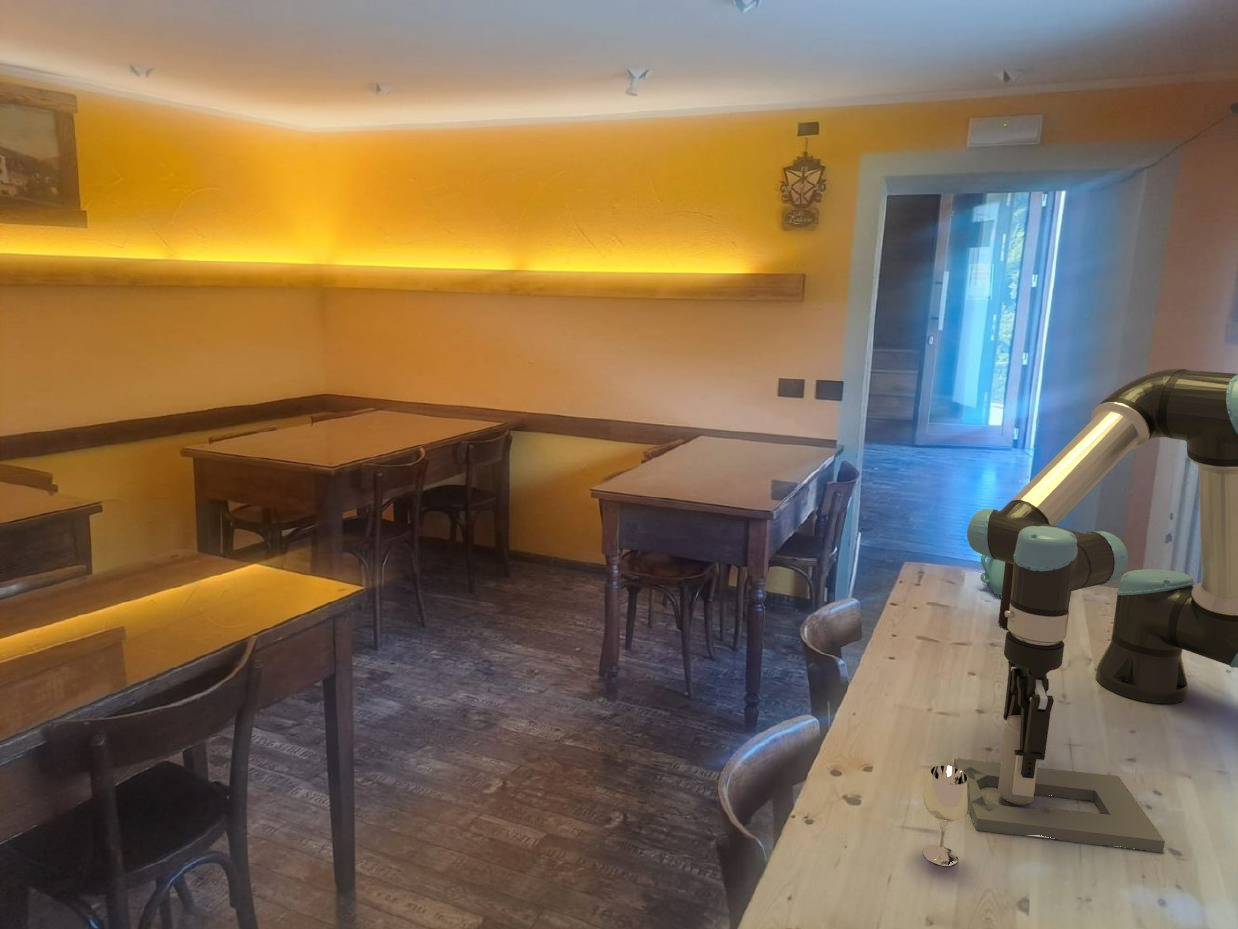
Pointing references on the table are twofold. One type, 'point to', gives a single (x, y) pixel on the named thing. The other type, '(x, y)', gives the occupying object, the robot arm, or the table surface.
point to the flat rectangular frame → (1109, 793)
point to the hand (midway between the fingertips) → (1017, 783)
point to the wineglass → (945, 806)
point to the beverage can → (1011, 761)
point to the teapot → (993, 574)
